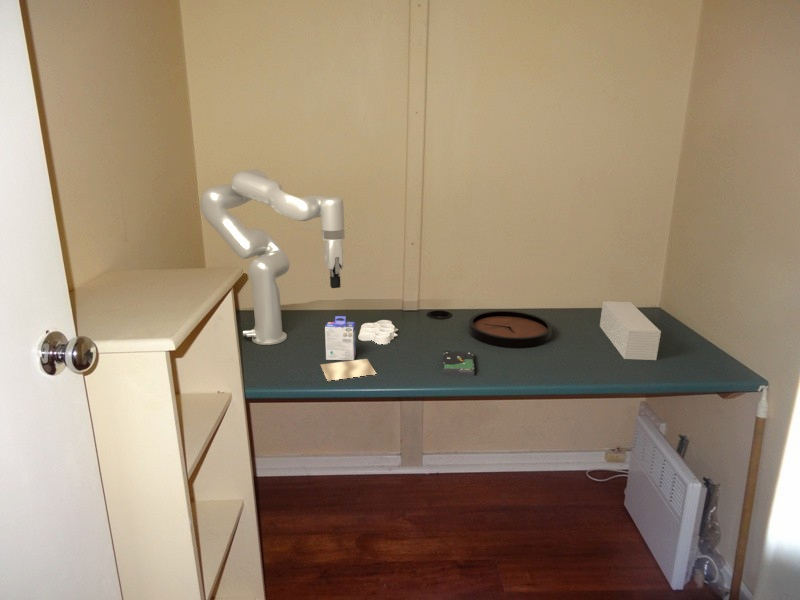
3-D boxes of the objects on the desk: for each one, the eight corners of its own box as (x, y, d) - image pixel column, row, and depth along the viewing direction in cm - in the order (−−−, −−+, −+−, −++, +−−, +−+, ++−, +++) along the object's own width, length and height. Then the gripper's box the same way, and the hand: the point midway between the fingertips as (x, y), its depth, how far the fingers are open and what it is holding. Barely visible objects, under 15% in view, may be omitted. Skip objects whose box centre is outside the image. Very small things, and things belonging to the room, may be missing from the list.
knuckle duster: (362, 327, 216) (399, 328, 215) (357, 345, 198) (397, 345, 198) (362, 319, 215) (399, 320, 214) (357, 336, 197) (397, 337, 197)
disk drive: (442, 357, 189) (442, 375, 175) (442, 350, 188) (442, 367, 174) (472, 358, 188) (475, 377, 174) (473, 351, 187) (475, 369, 173)
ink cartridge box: (356, 354, 190) (355, 315, 185) (354, 360, 184) (353, 320, 180) (328, 353, 190) (326, 314, 185) (325, 360, 184) (324, 320, 180)
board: (327, 381, 169) (327, 380, 169) (320, 365, 181) (320, 364, 180) (376, 374, 174) (376, 374, 174) (367, 359, 185) (367, 358, 185)
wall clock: (568, 325, 208) (518, 345, 188) (567, 335, 209) (517, 356, 189) (503, 305, 230) (452, 322, 210) (502, 314, 231) (451, 331, 212)
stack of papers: (599, 326, 218) (602, 301, 214) (626, 327, 217) (630, 302, 214) (624, 359, 187) (628, 330, 184) (656, 360, 187) (661, 331, 183)
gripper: (318, 231, 187) (320, 282, 193) (326, 239, 174) (328, 294, 179) (339, 230, 189) (341, 280, 195) (349, 238, 176) (351, 292, 181)
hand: (335, 287), depth 187 cm, fingers closed
